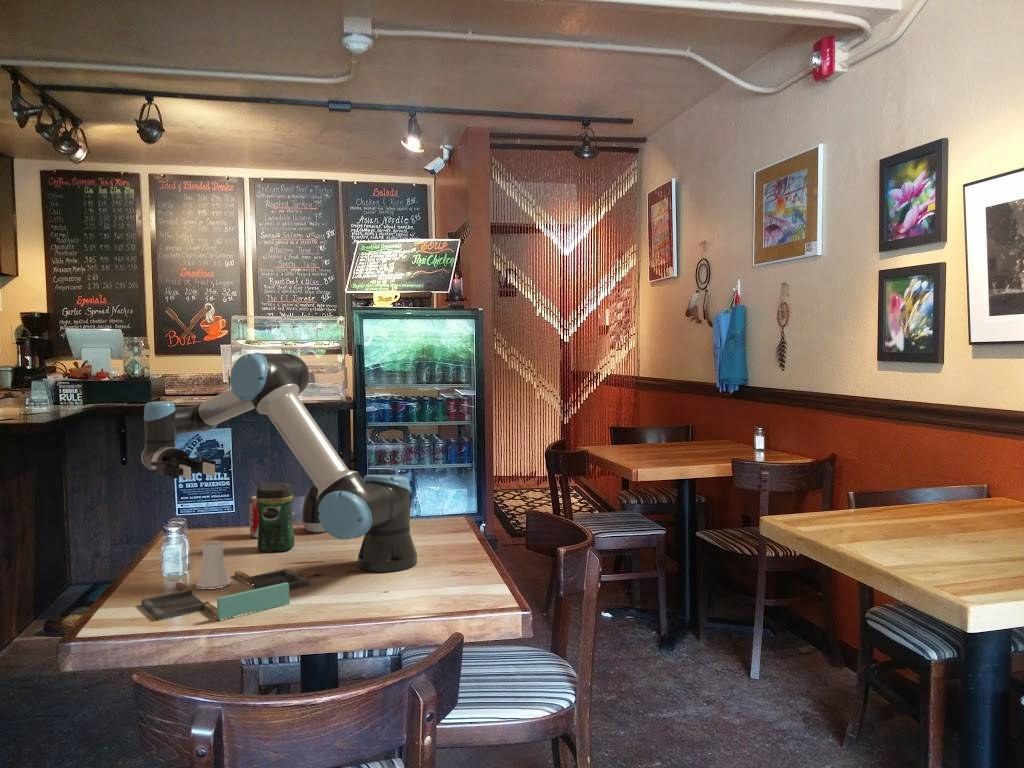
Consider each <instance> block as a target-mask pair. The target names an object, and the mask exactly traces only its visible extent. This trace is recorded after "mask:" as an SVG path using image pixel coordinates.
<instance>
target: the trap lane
mask: <svg viewBox="0 0 1024 768" xmlns="http://www.w3.org/2000/svg"><path fill="white" fill-rule="evenodd" d="M235 576H237V577H239V578H240V579H242V580H243V581H242V580H241V581H242V582H244V581H245V582H247V583H249V584H250V585H252V584H254V585H252V586H254V587H255V588H257V589H259V588H263V587H268V586H272V585H276V584H281V583H285V582H287V583H289V589H291V590H295V588H296V589H300V588H304V587H308V586H310V580H309V579H308V578H306V577H304V576H301V575H300V574H299V573H295V572H294V571H291V570H289V569H288V568H283V569H279V570H278V569H277V570H275V571H270V572H265V573H261V574H255V575H252V576H251V575H249V574H247V573H245V572H244V571H242V570H234V577H235ZM237 577H236V578H237ZM239 578H238V579H239ZM240 579H239V580H240ZM245 582H244V583H245ZM247 583H246V584H247ZM249 584H248V585H249ZM250 585H249V586H250ZM252 586H251V587H252ZM254 587H253V588H254ZM299 587H300V588H299ZM255 588H254V589H255ZM175 589H176V591H175V592H172V593H167V594H161V595H158V596H156V595H155V596H152V597H148V598H143V599H141V606H142V607H143V608H144V609H145V610H146V611H147V612H148V613H149V614H150V615H152V616H153V617H154V616H155V617H156V618H157V619H158V620H159V619H163V620H165V619H164V618H167V619H169V618H168V617H172V618H174V617H173V616H176V617H179V616H178V615H180V616H183V615H182V614H184V615H187V614H186V613H189V614H192V613H191V612H193V613H196V612H195V611H197V612H200V611H199V610H202V611H205V610H206V611H208V612H209V613H210V614H212V615H213V616H215V617H216V618H217V606H215V605H214V604H213V603H211V602H209V601H204V602H203V601H201V599H199V598H198V597H196V596H195V595H193V589H191V588H190V587H188V586H187V585H186V584H184V583H183V582H176V583H175ZM178 590H179V591H178ZM203 609H205V610H203ZM206 611H205V612H206ZM208 612H207V613H208ZM209 613H208V614H209ZM210 614H209V615H210ZM212 615H211V616H212ZM213 616H212V617H213ZM155 617H154V618H155ZM156 618H155V619H156ZM216 618H215V619H216ZM157 619H156V620H157ZM158 620H157V621H158ZM159 621H160V620H159Z"/></svg>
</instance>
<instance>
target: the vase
mask: <svg viewBox="0 0 1024 768" xmlns="http://www.w3.org/2000/svg"><path fill="white" fill-rule="evenodd" d="M224 543H225V542H224V541H222V540H209V541H204V542H203V543H201V549H202V550H201V551H202V565H201V570H200V574H199V578H198V581H196V582H195V585H196V589H197V590H199V589H202V588H204V589H205V588H206V589H209V588H217V587H221V586H223V587H224V585H225V586H226V585H228V584H229V583H230V582H231V580H232V579H231V577H229V575H228V573H227V572H228V571H227V570H226V566H225V562H224V560H225V559H224ZM227 583H228V584H227ZM224 588H225V587H224ZM201 591H204V590H203V589H202V590H201Z"/></svg>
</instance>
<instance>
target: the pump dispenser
mask: <svg viewBox="0 0 1024 768" xmlns="http://www.w3.org/2000/svg"><path fill="white" fill-rule="evenodd" d="M317 495H318V489H317V488H316V486H315V485H314V483H313V482H312V484H310V486H309V487H308V490H307V491H306V493H305V496H304V499H303V504H302V509H301V522H302V524H303V527H304V529H305V530H307V531H308V532H309V533H312V532H313V533H315V534H321V533H324V532H325V530H324V528H323V527H322V525H321V523H320V521H319V517H318V516H319V514H320V512H318V508H319V502H318V501H317ZM320 532H321V533H320Z"/></svg>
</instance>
